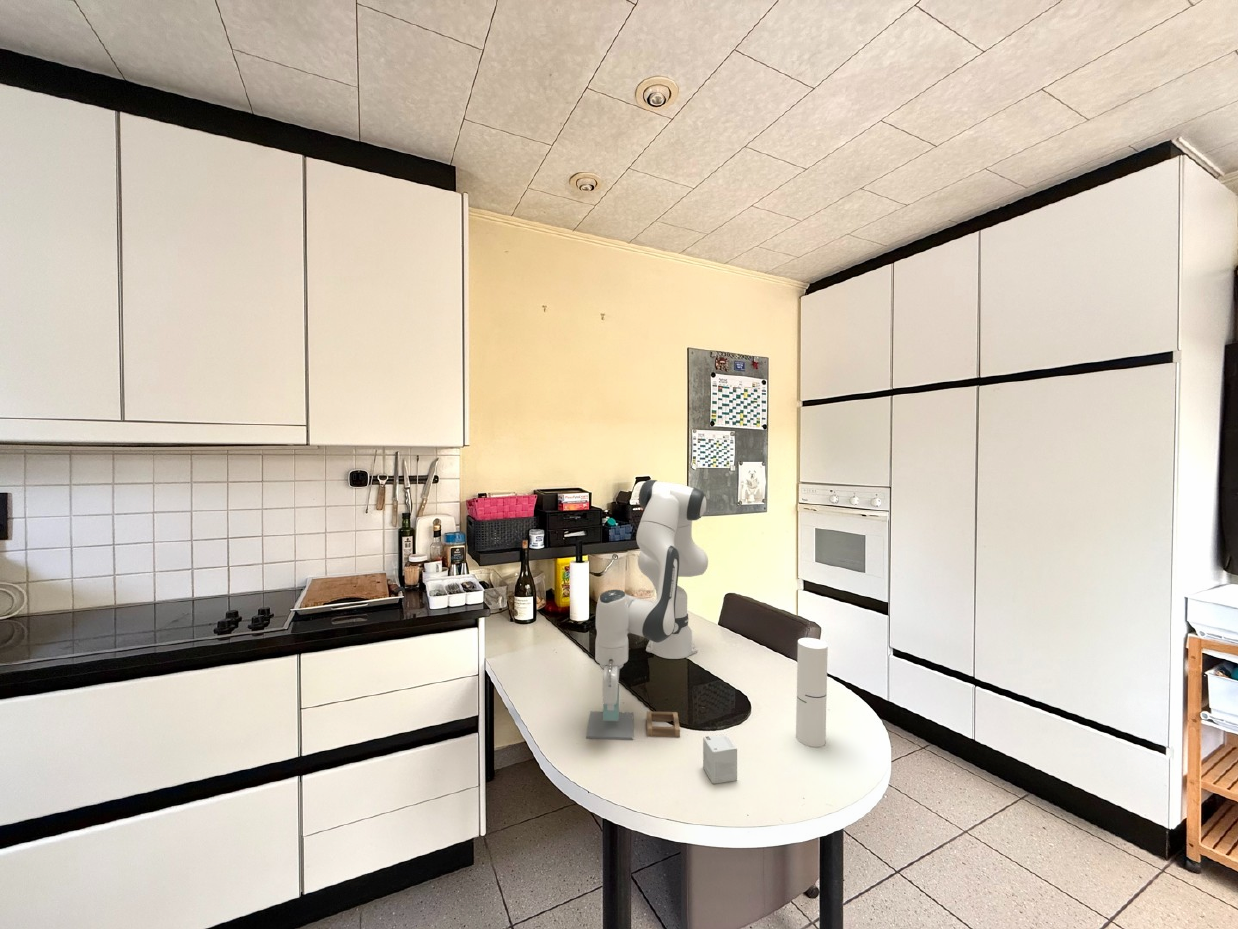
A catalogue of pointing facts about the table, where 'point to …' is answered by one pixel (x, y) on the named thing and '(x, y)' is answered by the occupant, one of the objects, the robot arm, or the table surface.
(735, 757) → the skincare box
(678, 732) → the pocket
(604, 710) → the teal block
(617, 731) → the mat
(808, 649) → the cylindrical container
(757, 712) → the table surface
